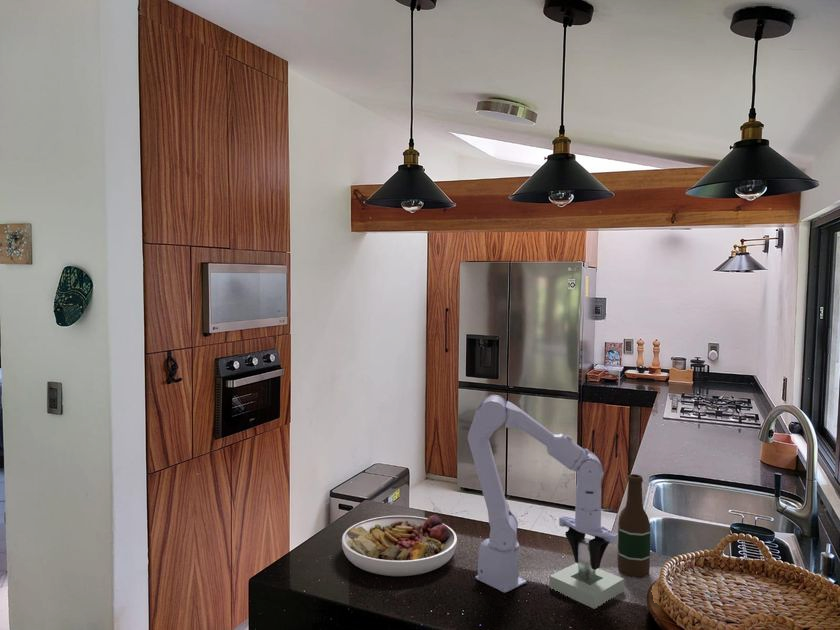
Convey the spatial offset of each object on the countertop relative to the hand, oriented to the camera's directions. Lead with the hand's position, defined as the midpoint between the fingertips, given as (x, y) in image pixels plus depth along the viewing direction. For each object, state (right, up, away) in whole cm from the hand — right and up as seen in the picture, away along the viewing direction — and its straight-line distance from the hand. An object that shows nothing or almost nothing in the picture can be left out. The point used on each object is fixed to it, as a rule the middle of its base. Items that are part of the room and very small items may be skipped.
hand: (587, 564), depth 142 cm
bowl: (-44, -5, +19) cm, 48 cm away
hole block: (0, -6, 0) cm, 6 cm away
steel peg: (0, -3, 0) cm, 3 cm away
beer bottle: (+14, -6, +10) cm, 18 cm away
